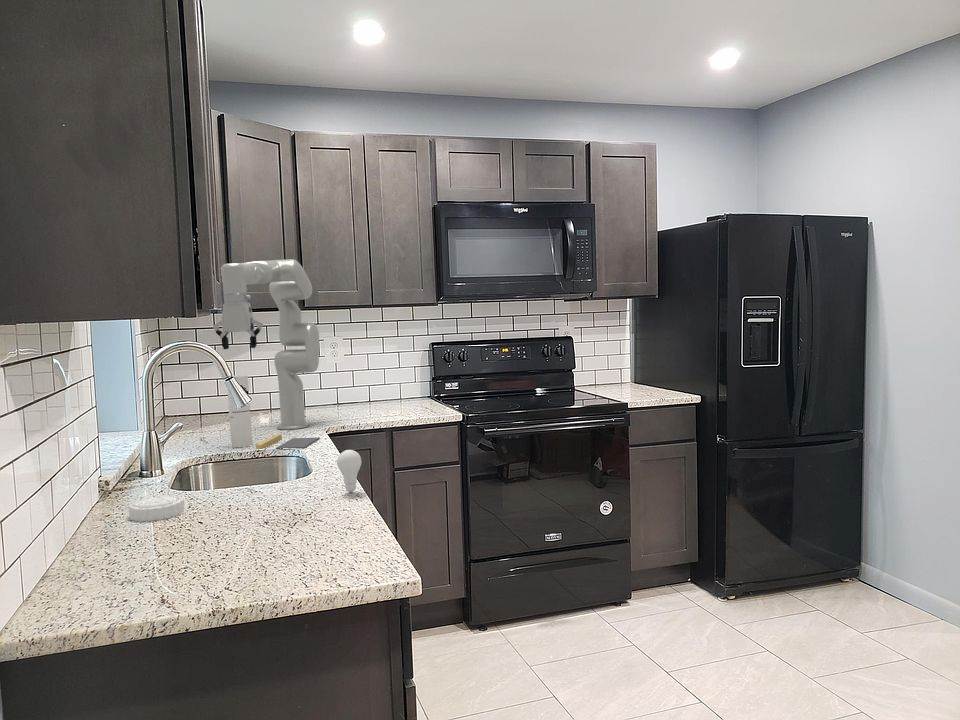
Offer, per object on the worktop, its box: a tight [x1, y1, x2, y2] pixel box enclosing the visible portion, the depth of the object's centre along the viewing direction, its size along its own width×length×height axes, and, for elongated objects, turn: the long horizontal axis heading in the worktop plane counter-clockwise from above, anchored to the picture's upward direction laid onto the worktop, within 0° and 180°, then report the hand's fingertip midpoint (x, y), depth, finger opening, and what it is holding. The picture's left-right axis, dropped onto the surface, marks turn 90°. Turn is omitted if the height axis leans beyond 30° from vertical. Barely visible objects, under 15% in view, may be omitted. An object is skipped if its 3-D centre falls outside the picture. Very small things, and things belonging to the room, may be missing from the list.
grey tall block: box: [227, 374, 253, 448], centre depth 258 cm, size 7×7×25 cm
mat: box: [275, 436, 321, 450], centre depth 257 cm, size 18×10×1 cm, turn 176°
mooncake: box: [128, 494, 185, 522], centre depth 173 cm, size 12×12×4 cm
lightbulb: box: [336, 449, 362, 494], centre depth 185 cm, size 6×6×11 cm
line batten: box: [255, 433, 283, 450], centre depth 258 cm, size 20×2×2 cm, turn 176°
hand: (239, 348), depth 254 cm, fingers open, 9 cm apart
